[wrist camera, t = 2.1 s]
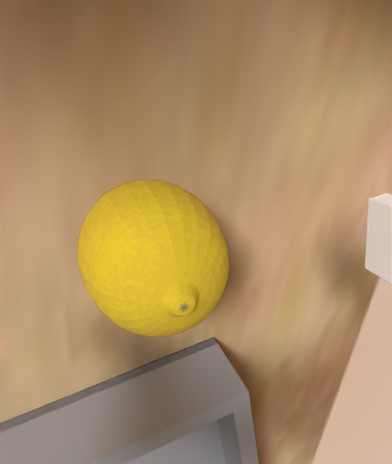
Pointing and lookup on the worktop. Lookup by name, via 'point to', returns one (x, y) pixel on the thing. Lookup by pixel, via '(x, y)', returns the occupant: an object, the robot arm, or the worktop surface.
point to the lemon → (153, 258)
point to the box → (144, 418)
